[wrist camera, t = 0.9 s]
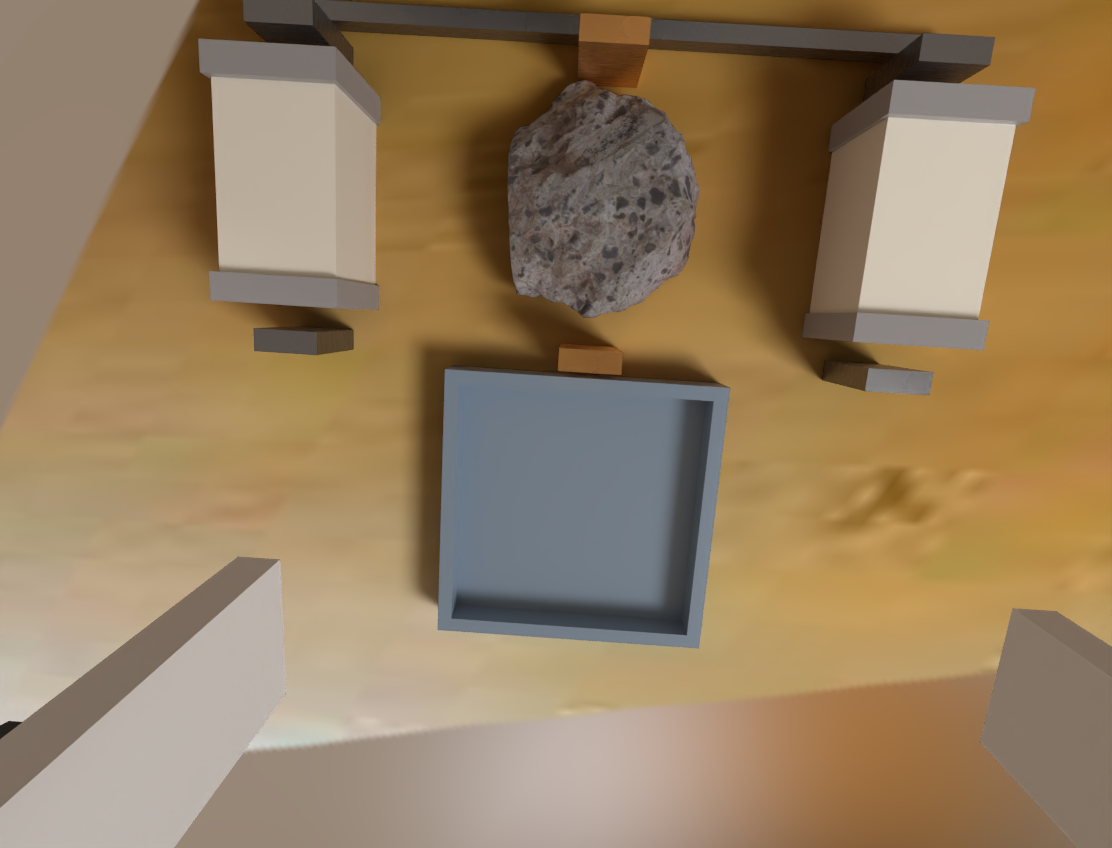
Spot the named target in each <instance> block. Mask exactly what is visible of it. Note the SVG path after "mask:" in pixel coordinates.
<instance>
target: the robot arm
mask: <svg viewBox="0 0 1112 848" xmlns="http://www.w3.org/2000/svg"><path fill="white" fill-rule="evenodd" d="M285 694H286V681H285V659H284V636H283V613H282V591H281V568H280V559H265V558H250V557H237V558H236V559H234V560H233V561H232V562H231V563H229V564H228V565H227V566H225V567H224V568H223V569H221V570H220V571H219V572H218V573H216V574H215V575H214V576H212V577H211V578H210V579H208V580H207V581H206V582H204V583H203V584H202V585H201V586H199V587H198V588H197V589H195V590H194V591H193V592H191V593H190V594H189V595H188V596H186V597H185V598H184V599H182V600H181V601H180V602H178V603H177V604H176V605H175V606H173V607H172V608H171V609H169V610H168V611H167V612H165V613H164V614H163V615H161V616H160V617H159V618H158V619H156V620H155V621H154V622H152V623H151V624H150V625H148V626H147V627H146V628H145V629H143V630H142V631H141V632H139V633H138V634H137V635H135V636H134V637H133V638H132V639H130V640H129V641H128V642H126V643H125V644H124V645H122V646H121V647H120V648H118V649H117V650H116V651H115V652H113V653H112V654H111V655H109V656H108V657H107V658H105V659H104V660H103V661H102V662H100V663H99V664H98V665H96V666H95V667H94V668H92V669H91V670H90V671H89V672H87V673H86V674H85V675H83V676H82V677H81V678H79V679H78V680H77V681H75V682H74V683H73V684H72V685H70V686H69V687H68V688H66V689H65V690H64V691H62V692H61V693H60V694H59V695H57V696H56V697H55V698H53V699H52V700H51V701H49V702H48V703H47V704H46V705H44V706H43V707H42V708H40V709H39V710H38V711H36V712H35V713H34V714H32V715H31V716H30V717H29V718H27V719H26V720H25V721H23V722H14V721H8V722H6V723H4V724H2V725H0V848H174V847H175V846H176V844H177V843H178V841H179V840H180V839H181V837H182V836H183V835H184V833H185V832H186V830H187V829H188V828H189V826H190V825H191V824H192V822H193V821H194V819H195V818H196V816H197V815H198V814H199V813H200V811H201V810H202V808H203V807H204V806H205V804H206V803H207V802H208V800H209V799H210V797H211V796H212V795H213V793H214V792H215V791H216V789H217V788H218V786H219V785H220V783H221V782H222V781H223V780H224V778H225V777H226V775H227V774H228V773H229V771H230V770H231V768H232V767H233V766H234V764H235V763H236V762H237V760H238V759H239V758H240V756H241V755H242V753H243V752H244V751H245V749H246V748H247V747H248V745H249V744H250V742H251V741H252V740H253V738H254V737H255V736H256V734H257V733H258V731H259V730H260V729H261V727H262V726H263V725H264V723H265V722H266V720H267V719H268V718H269V716H270V715H271V714H272V712H273V711H274V709H275V708H276V707H277V705H278V704H279V703H280V701H281V700H282V698H283V697H284V696H285ZM980 743H981V744H982V745H983V746H984V747H985V748H986V749H987V750H988V751H989V752H990V754H991V755H992V756H993V757H994V758H995V759H996V760H997V761H998V762H999V763H1000V764H1001V765H1002V767H1003V768H1004V769H1005V770H1006V771H1007V772H1008V773H1009V774H1010V775H1011V776H1012V777H1013V778H1014V779H1015V781H1016V782H1017V783H1018V784H1019V785H1020V786H1021V787H1022V788H1023V789H1024V790H1025V791H1026V792H1027V793H1028V795H1029V796H1030V797H1031V798H1032V799H1033V800H1034V801H1035V802H1036V803H1037V804H1038V805H1039V806H1040V807H1041V808H1042V810H1043V811H1044V812H1045V813H1046V814H1047V815H1048V816H1049V817H1050V818H1051V819H1052V821H1053V822H1055V824H1056V825H1057V826H1058V827H1059V828H1060V829H1061V830H1062V831H1063V832H1064V834H1065V835H1066V836H1067V837H1068V838H1069V839H1070V840H1071V841H1072V842H1073V843H1074V844H1075V845H1076V847H1078V848H1112V647H1111V646H1110V645H1108V644H1107V643H1105V642H1103V641H1102V640H1100V639H1099V638H1097V637H1096V636H1094V635H1093V634H1091V633H1089V632H1088V631H1086V630H1085V629H1083V628H1082V627H1080V626H1078V625H1077V624H1075V623H1074V622H1072V621H1071V620H1069V619H1068V618H1066V617H1064V616H1063V615H1061V614H1060V613H1058V612H1057V611H1045V610H1030V609H1015V608H1013V609H1012V613H1011V617H1010V621H1009V625H1008V630H1007V634H1006V638H1005V642H1004V646H1003V650H1002V654H1001V658H1000V662H999V666H998V670H997V674H996V678H995V682H994V686H993V691H992V694H991V698H990V703H989V707H988V711H987V715H986V719H985V723H984V727H983V731H982V735H981V739H980Z"/></svg>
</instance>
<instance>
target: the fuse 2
mask: <svg viewBox="0 0 1112 848" xmlns="http://www.w3.org/2000/svg"><path fill="white" fill-rule="evenodd" d="M1035 89H1036V88H1026V87H1009V86H992V85H975V84H958V83H941V82H924V81H907V80H893V81H892V82H890V83H889V84H887V85H886V86H885V87H883V88H882V89H881V90H879V91H878V92H876V93H875V94H874V95H872V96H871V97H870V98H868V99H867V100H866V101H864V102H863V103H861V104H860V105H859V106H857V107H856V108H855V109H853V110H852V111H851V112H849V113H848V114H846V115H845V116H844V117H842V118H841V119H840V120H838V121H837V122H836V123H834V124H833V125H832V127H831V135H830V142H829V149H828V152H832V157H831V165H830V172H829V179H828V186H827V193H826V200H825V207H824V214H823V221H822V228H821V235H820V242H819V249H818V256H817V263H816V270H815V278H814V285H813V292H812V299H811V306H810V313H805V320H804V327H803V334H802V337H805V338H816V339H828V340H839V341H850V342H864V343H880V344H895V345H911V346H926V347H942V348H957V349H973V350H984V346H985V341H986V336H987V331H988V325H989V321H983V320H978V317H979V312H980V307H981V301H982V296H983V291H984V286H985V281H986V276H987V271H988V265H989V260H990V255H991V250H992V245H993V240H994V235H995V230H996V224H997V219H998V214H999V209H1000V204H1001V199H1002V194H1003V188H1004V183H1005V178H1006V173H1007V168H1008V163H1009V158H1010V152H1011V147H1012V142H1013V137H1014V132H1015V127H1018V126H1020V125H1023V124H1025V123H1027V122H1029V119H1030V114H1031V109H1032V104H1033V99H1034V94H1035Z"/></svg>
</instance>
